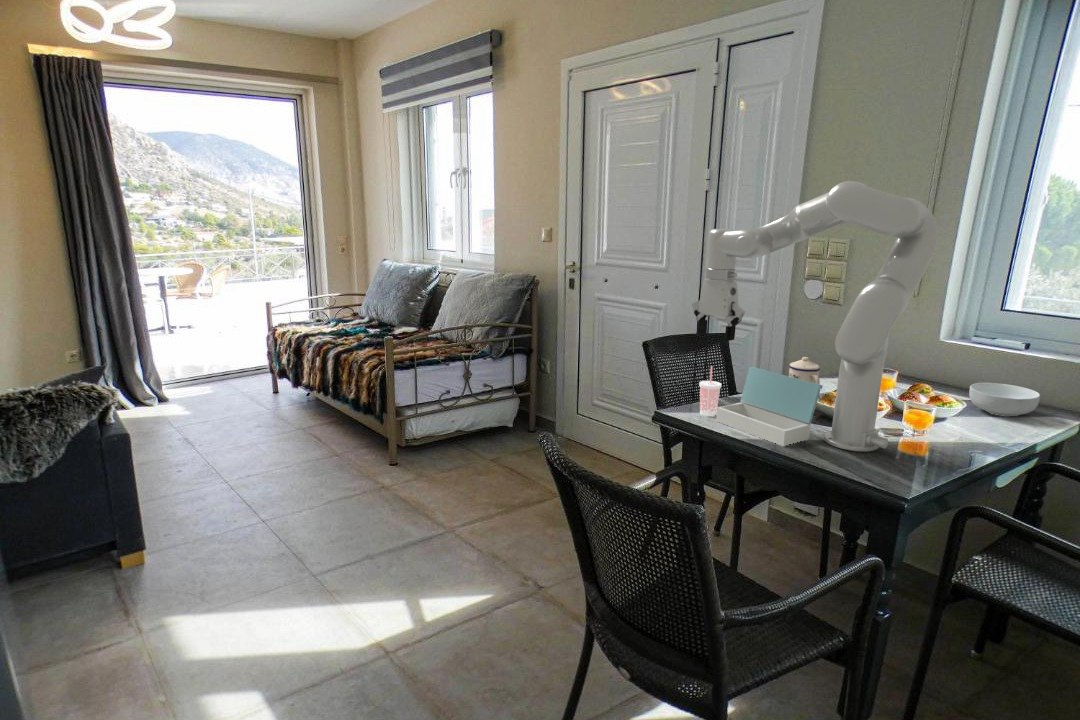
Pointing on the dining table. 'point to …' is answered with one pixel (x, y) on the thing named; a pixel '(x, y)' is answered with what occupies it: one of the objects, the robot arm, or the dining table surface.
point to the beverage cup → (709, 396)
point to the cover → (781, 394)
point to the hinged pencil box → (763, 423)
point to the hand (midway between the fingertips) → (715, 337)
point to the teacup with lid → (805, 370)
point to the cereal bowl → (1003, 398)
